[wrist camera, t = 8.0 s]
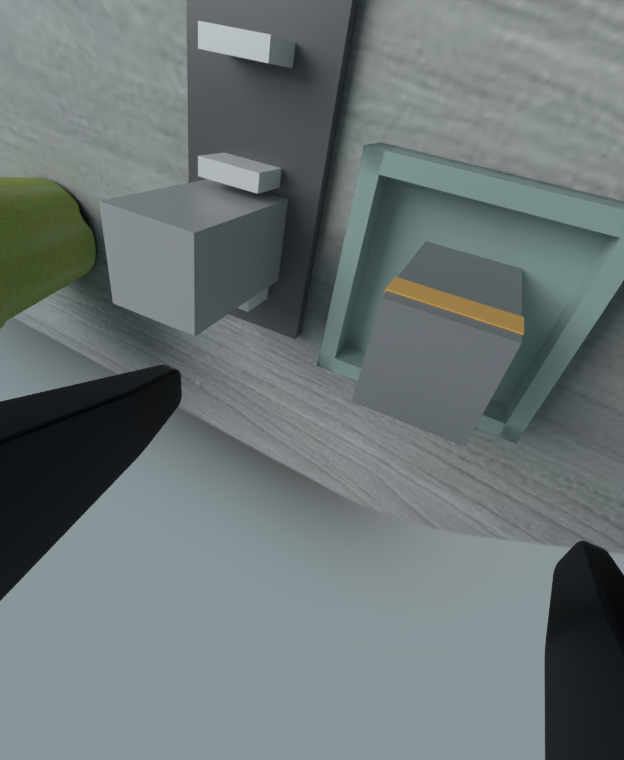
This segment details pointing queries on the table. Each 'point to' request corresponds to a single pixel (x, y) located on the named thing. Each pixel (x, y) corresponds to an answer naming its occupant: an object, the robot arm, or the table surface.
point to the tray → (485, 239)
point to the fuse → (442, 341)
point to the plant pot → (39, 242)
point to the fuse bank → (239, 170)
